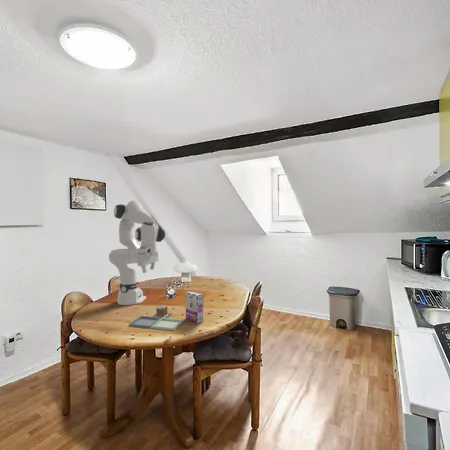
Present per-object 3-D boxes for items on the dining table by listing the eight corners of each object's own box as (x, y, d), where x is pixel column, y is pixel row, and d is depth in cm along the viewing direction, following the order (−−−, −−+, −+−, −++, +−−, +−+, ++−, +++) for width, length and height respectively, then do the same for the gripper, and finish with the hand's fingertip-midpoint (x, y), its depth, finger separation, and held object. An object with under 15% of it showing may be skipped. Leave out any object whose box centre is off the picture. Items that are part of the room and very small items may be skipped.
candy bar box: (203, 321, 162) (203, 294, 162) (197, 324, 158) (197, 295, 158) (192, 317, 170) (192, 290, 170) (185, 319, 166) (185, 292, 166)
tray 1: (141, 318, 167) (141, 315, 167) (161, 320, 164) (161, 317, 164) (128, 326, 155) (128, 323, 154) (150, 328, 151) (150, 325, 151)
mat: (158, 312, 177) (158, 312, 177) (172, 314, 175) (172, 313, 175) (150, 318, 167) (150, 317, 167) (165, 319, 165) (165, 318, 165)
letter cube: (160, 313, 174) (160, 305, 174) (167, 314, 173) (167, 306, 173) (156, 316, 169) (156, 308, 169) (163, 317, 168) (163, 308, 168)
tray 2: (162, 320, 164) (162, 317, 164) (183, 322, 161) (183, 319, 161) (151, 328, 151) (151, 325, 151) (173, 331, 148) (173, 328, 148)
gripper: (151, 246, 179) (151, 267, 180) (135, 250, 159) (135, 274, 160) (160, 246, 178) (160, 268, 179) (145, 251, 158) (144, 274, 159)
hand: (148, 271), depth 169 cm, fingers open, 8 cm apart
